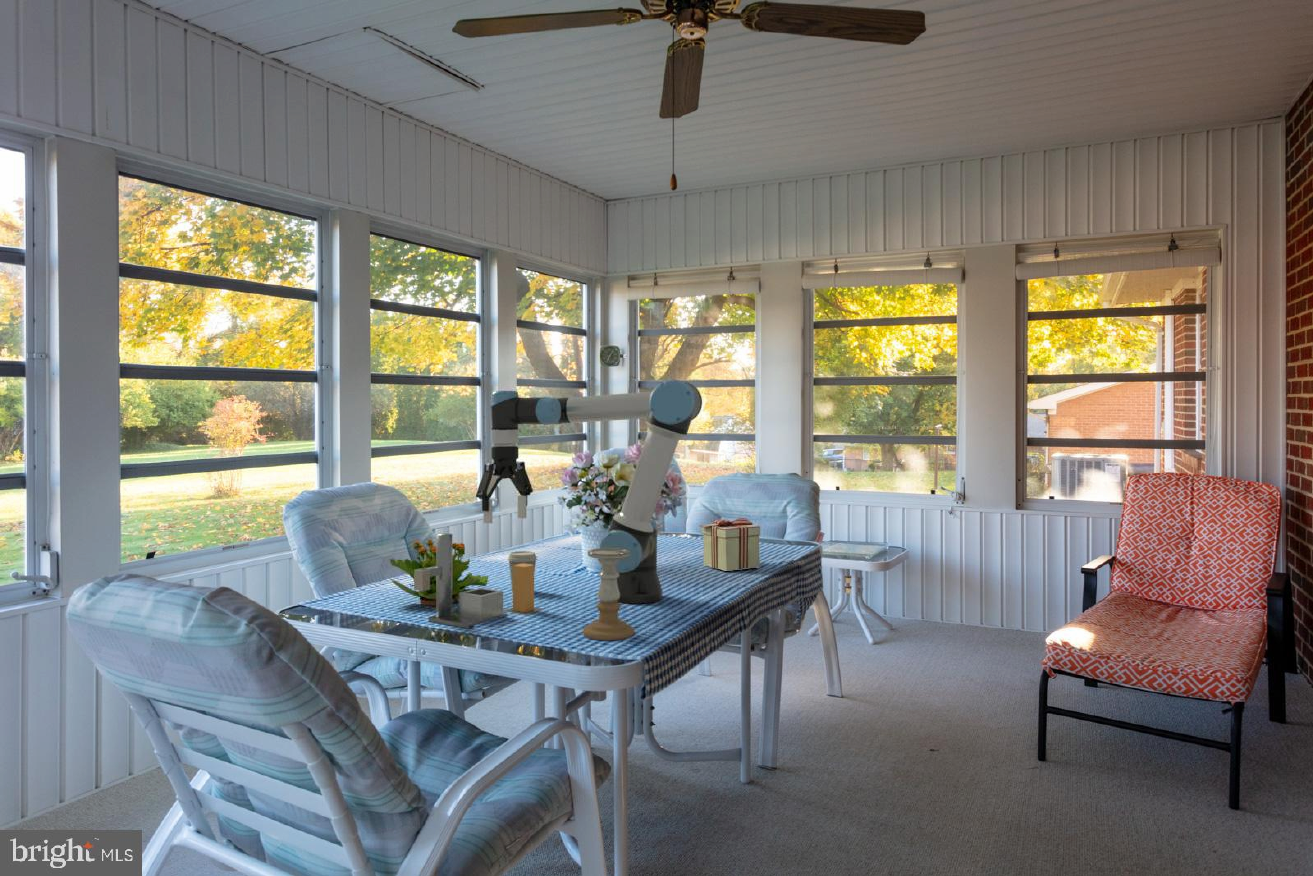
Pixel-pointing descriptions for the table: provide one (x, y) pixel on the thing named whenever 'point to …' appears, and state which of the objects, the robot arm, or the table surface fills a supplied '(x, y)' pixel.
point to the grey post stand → (471, 603)
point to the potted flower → (430, 561)
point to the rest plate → (523, 612)
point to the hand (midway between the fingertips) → (505, 520)
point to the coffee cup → (521, 560)
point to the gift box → (731, 544)
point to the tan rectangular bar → (523, 587)
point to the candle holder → (608, 598)
